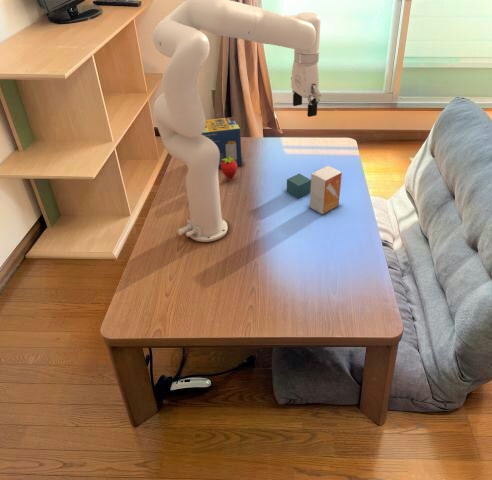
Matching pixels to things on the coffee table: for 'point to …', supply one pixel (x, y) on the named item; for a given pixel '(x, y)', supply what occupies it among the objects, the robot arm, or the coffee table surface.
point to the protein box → (225, 138)
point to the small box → (325, 189)
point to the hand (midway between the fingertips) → (304, 110)
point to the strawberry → (229, 167)
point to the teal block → (298, 185)
